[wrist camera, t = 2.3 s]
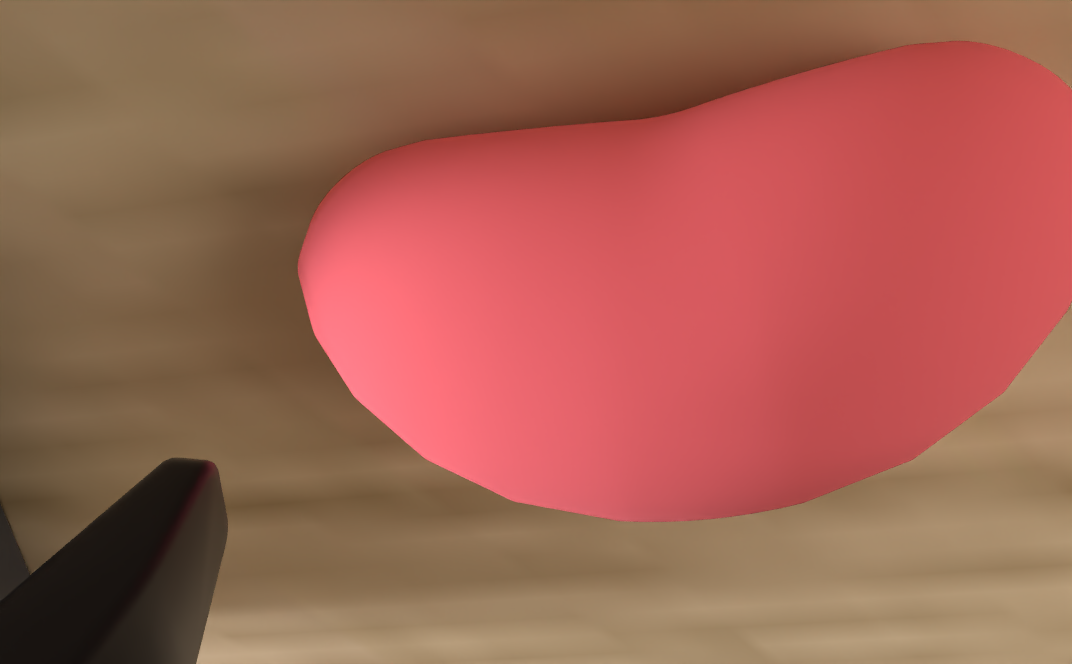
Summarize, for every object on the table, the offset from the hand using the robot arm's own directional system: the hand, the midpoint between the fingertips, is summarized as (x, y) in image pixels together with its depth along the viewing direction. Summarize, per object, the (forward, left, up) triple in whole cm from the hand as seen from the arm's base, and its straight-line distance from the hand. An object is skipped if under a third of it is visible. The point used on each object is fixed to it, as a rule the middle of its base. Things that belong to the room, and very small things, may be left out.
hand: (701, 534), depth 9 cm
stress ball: (0, 0, -6) cm, 6 cm away
